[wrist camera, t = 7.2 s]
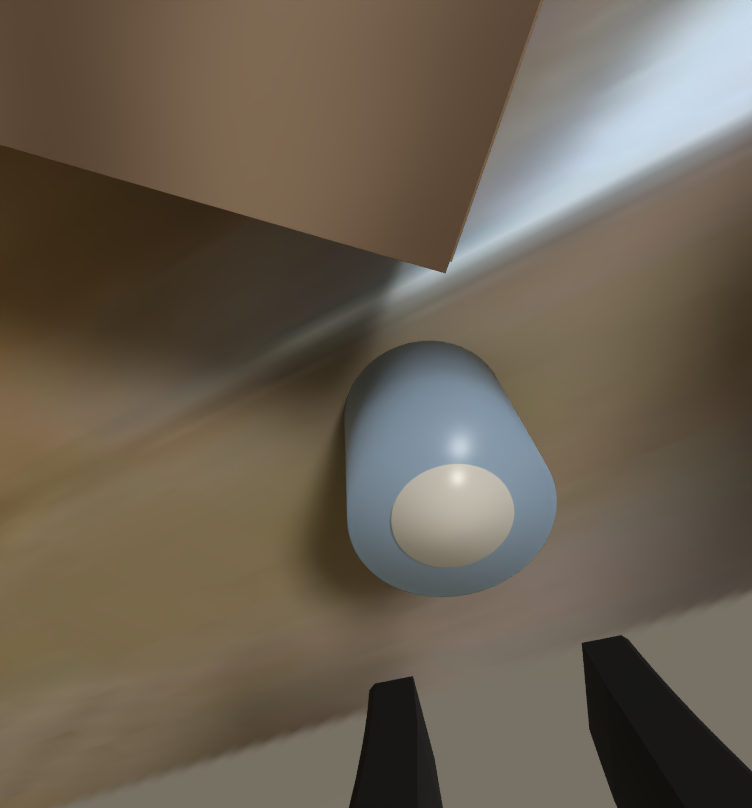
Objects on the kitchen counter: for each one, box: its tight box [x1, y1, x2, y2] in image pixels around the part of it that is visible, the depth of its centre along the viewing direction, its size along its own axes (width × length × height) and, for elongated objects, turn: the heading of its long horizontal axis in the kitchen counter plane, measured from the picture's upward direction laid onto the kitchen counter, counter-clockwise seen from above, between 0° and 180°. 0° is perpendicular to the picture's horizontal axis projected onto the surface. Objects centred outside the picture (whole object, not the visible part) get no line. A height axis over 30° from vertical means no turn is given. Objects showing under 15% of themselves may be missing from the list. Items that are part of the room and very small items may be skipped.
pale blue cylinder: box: [344, 341, 557, 597], centre depth 17 cm, size 5×5×5 cm
